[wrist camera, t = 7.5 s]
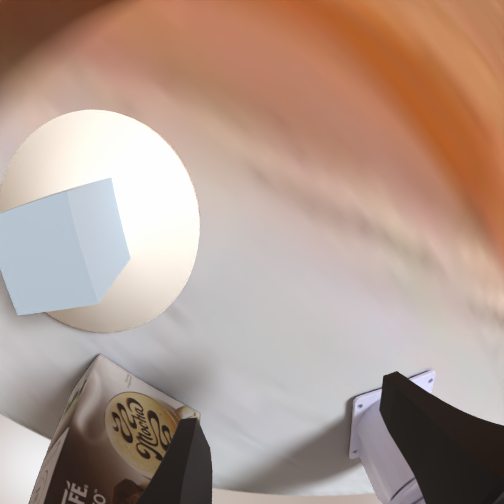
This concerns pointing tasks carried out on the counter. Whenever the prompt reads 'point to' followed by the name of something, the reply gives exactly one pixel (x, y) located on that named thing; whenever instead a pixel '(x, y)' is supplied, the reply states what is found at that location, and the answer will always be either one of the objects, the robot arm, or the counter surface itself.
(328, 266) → the counter surface
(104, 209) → the block
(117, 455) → the coffee box
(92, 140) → the saucer
